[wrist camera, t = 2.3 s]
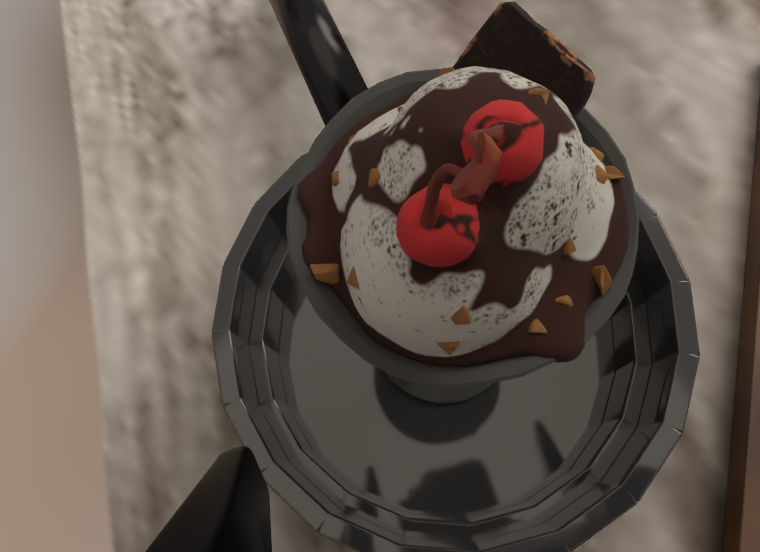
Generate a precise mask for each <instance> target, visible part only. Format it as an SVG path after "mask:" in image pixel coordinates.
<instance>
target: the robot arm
mask: <svg viewBox="0 0 760 552" xmlns="http://www.w3.org/2000/svg"><path fill="white" fill-rule="evenodd" d="M146 552H272V542H271V522H270V502H269V492H268V487H267V484H266V481H265V479H264V477H263V474H262V472H261V470H260V468H259V465H258V463H257V461H256V458H255V456H254V454H253V452H252V450H251V449H250V448H249V447H247V446H243V447H239V448H235V449H231V450H228V451H225V452H223V453H222V454H221V455H220V456H219V457H218V458H217V459H216V461H215V462H214V463H213V465H212V466H211V467H210V469H209V470H208V471H207V472H206V474H205V475H204V476H203V478H202V479H201V480H200V481H199V483H198V484H197V485H196V487H195V488H194V489H193V491H192V492H191V493H190V494H189V496H188V497H187V498H186V500H185V501H184V502H183V504H182V505H181V506H180V507H179V509H178V510H177V511H176V513H175V514H174V515H173V517H172V518H171V519H170V520H169V522H168V523H167V524H166V526H165V527H164V528H163V530H162V531H161V532H160V533H159V535H158V536H157V537H156V539H155V540H154V541H153V543H152V544H151V545H150V546H149V548H148V549H147V550H146Z"/></svg>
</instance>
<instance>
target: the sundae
mask: <svg viewBox="0 0 760 552" xmlns="http://www.w3.org/2000/svg"><path fill="white" fill-rule="evenodd" d="M594 81H595V76H594V74H593V72H592V70H591V69H590V68H588V67H587V66H586V65H585V64H584V63H583V62H582V61H581V60H580V59H579V58H578V57H577V56H576V55H575V54H574V53H573V52H572V51H571V50H570V49H569V48H568V47H567V46H566V45H565V44H564V43H563V42H562V41H560V40H559V39H558V38H557V37H556V36H554V35H553V34H552V33H551V32H550V31H548V30H547V29H545V28H544V27H542V26H541V25H540V24H538V23H537V22H535V21H534V20H533V19H532V18H531V17H530V15H529V14H528V13H527V12H526V11H525V10H523V9H522V8H521V7H520V6H519V5H518V4H517V3H516V2H504V3H500V4H499V5H498V6H497V8H496V9H495V10H494V12H493V13H492V14H491V16H490V17H489V18H488V20H487V21H486V22H485V24H484V25H483V26H482V27H481V29H480V30H479V31H478V33H477V34H476V35H475V36H474V38H473V39H472V40H471V42H470V43H469V45H468V46H467V48H466V49H465V50H464V52H463V53H462V55H461V56H460V58H459V59H458V61H457V62H456V64H455V65H454V66H453V67H450V68H442V69H434V70H424V71H413V72H406V73H403V74H401V75H398V76H395V77H393V78H390V79H387V80H385V81H382V82H379V83H378V84H376V85H374V86H372V87H371V88H369V89H367V90H365V91H364V92H362V93H360V94H358V95H357V96H355V97H353V98H352V99H351V100H350V101H349V102H348V103H347V104H346V105H345V106H344V107H343V108H342V109H341V110H340V111H339V112H338V113H337V114H336V115H335V116H334V117H333V118H332V119H331V120H330V121H329V123H328V124H327V125H326V126H325V128H324V129H323V130H322V132H321V133H320V134H319V135H318V137H317V138H316V139H315V140H314V142H313V144H312V146H311V148H310V150H309V152H308V154H307V156H306V157H305V159H304V161H303V163H302V165H301V168H300V170H299V173H298V175H297V178H296V180H295V182H294V185H293V188H292V192H291V195H290V199H289V202H288V205H287V222H286V232H287V242H288V252H289V258H290V261H291V263H292V266H293V268H294V271H295V273H296V276H297V278H298V281H299V283H300V286H301V287H302V289H303V291H304V293H305V294H306V296H307V298H308V300H309V301H310V303H311V305H312V307H313V308H314V310H315V312H316V314H317V315H318V316H319V317H320V319H321V320H322V321H323V322H324V323H325V324H326V325H327V326H328V327H329V328H330V329H331V330H332V331H333V332H334V333H335V334H336V335H337V336H338V337H339V339H340V340H341V341H342V342H344V343H345V344H346V345H347V346H348V347H349V348H351V349H352V350H353V351H354V352H355V353H356V354H358V355H359V356H360V357H361V358H362V359H364V360H365V361H366V362H368V363H370V364H372V365H373V366H375V367H377V368H379V369H381V370H383V371H385V373H386V375H387V376H388V378H389V379H390V380H391V381H392V382H393V383H394V384H395V385H396V386H398V387H399V388H400V389H401V390H403V391H404V392H405V393H407V394H408V395H410V396H412V397H415V398H417V399H420V400H422V401H426V402H430V403H435V404H451V403H457V402H464V401H466V400H468V399H471V398H473V397H475V396H477V395H479V394H480V393H482V392H484V391H485V390H487V389H488V388H489V387H490V386H491V385H492V384H493V383H495V382H500V381H505V380H509V379H514V378H519V377H523V376H525V375H527V374H529V373H532V372H534V371H536V370H538V369H540V368H542V367H544V366H547V365H549V364H551V363H553V362H556V363H558V362H569V361H572V360H574V359H576V358H577V357H578V356H579V355H580V354H581V352H582V351H583V349H584V346H585V343H586V342H588V341H589V340H590V338H591V337H592V336H593V335H594V334H595V333H596V332H597V331H598V330H599V329H600V328H601V327H602V325H603V324H604V323H605V322H606V321H607V320H608V319H609V318H610V317H611V315H612V314H613V312H614V311H615V309H616V308H617V306H618V305H619V304H620V302H621V301H622V299H623V298H624V296H625V294H626V291H627V288H628V285H629V283H630V280H631V277H632V274H633V271H634V265H635V260H636V255H637V249H638V235H639V213H638V207H637V200H636V194H635V189H634V185H633V182H632V179H631V176H630V172H629V169H628V166H627V162H626V159H625V157H624V156H623V154H622V153H621V151H620V150H619V148H618V147H617V145H616V144H615V142H614V141H613V139H612V138H611V136H610V135H609V133H608V132H607V131H606V130H605V129H604V128H603V127H602V126H601V125H600V123H599V122H598V121H597V120H596V119H595V118H594V117H593V116H592V115H591V114H590V113H589V112H588V111H587V110H586V109H584V108H583V107H584V106H585V105H586V103H587V101H588V99H589V97H590V95H591V92H592V89H593V85H594Z"/></svg>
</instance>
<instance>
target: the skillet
mask: <svg viewBox="0 0 760 552" xmlns="http://www.w3.org/2000/svg"><path fill="white" fill-rule="evenodd" d="M307 154H308V153H306V154H304V155H303V156H301V157H300V158H299V159H298V160H297V161H296V162H295V163H294V164H293V165H292V166H291V167H290V168H289V169H288V170H287V171H286V172H285V173H284V174H283V175H282V176H281V177H280V178H279V179H278V180H277V181H276V182H275V183H274V184H273V185H272V186H271V188H270V189H269V190H268V191H267V192H266V193H265V194H264V195H263V196H262V197H261V198H260V199H259V200H258V201H257V202H256V203H255V206H253V208H252V210H251V212H250V214H249V216H248V217H247V219H246V221H245V223H244V225H243V227H242V229H241V231H240V233H239V235H238V237H237V239H236V241H235V243H234V245H233V247H232V249H231V251H230V252H229V254H228V256H227V258H226V260H225V262H224V266H223V269H222V275H221V281H220V287H219V293H218V299H217V305H216V310H215V316H214V322H213V328H212V333H213V334H212V340H213V347H214V354H215V361H216V367H217V374H218V381H219V387H220V394H221V401H222V405H223V409H224V411H225V413H226V415H227V417H228V419H229V421H230V422H231V424H232V426H233V428H234V430H235V432H236V434H237V436H238V438H239V440H240V442H241V444H242V446H247V447H249V448H250V449H251V450H252V452H253V454H254V456H255V458H256V461H257V463H258V465H259V468H260V470H261V472H262V474H263V477H264V479H265V481H266V484H267V485H268V486H269V487H270V488H271V489H272V490H273V491H274V492H275V493H276V494H277V495H278V496H279V497H280V498H281V499H282V500H283V501H284V502H285V503H286V504H287V505H289V506H290V507H291V508H292V509H293V510H294V511H295V512H296V513H297V514H298V515H299V516H300V517H301V518H302V519H303V520H304V521H305V522H306V523H307V524H308V525H309V526H310V527H311V528H312V529H313V530H315V531H316V532H319V534H320V535H322V536H324V537H326V538H328V539H331V540H333V541H335V542H337V543H339V544H342V545H344V546H346V547H348V548H350V549H353V550H355V551H357V552H572V551H573V550H575V549H576V548H577V547H579V546H580V545H581V544H583V543H584V542H586V541H587V540H588V539H590V538H591V537H592V536H594V535H595V534H597V533H598V532H599V531H601V530H602V529H603V528H605V527H606V526H607V525H609V524H610V523H612V522H613V521H614V520H616V519H617V518H618V517H620V516H621V515H622V514H624V513H625V512H627V511H628V510H629V509H631V508H632V507H633V506H635V505H636V504H637V502H638V501H640V499H641V498H642V496H643V495H644V493H645V492H646V490H647V489H648V487H649V485H650V484H651V482H652V481H653V479H654V478H655V476H656V475H657V473H658V472H659V470H660V468H661V467H662V465H663V464H664V462H665V461H666V459H667V458H668V456H669V455H670V453H671V451H672V450H673V448H674V447H675V445H676V444H677V442H678V441H679V439H680V437H681V436H682V433H683V431H684V427H685V422H686V418H687V413H688V408H689V404H690V399H691V394H692V390H693V385H694V381H695V376H696V371H697V367H698V362H699V355H700V352H699V345H698V337H697V330H696V322H695V314H694V307H693V299H692V292H691V284H690V281H689V278H688V276H687V274H686V272H685V270H684V268H683V266H682V264H681V262H680V259H679V257H678V255H677V253H676V251H675V249H674V247H673V245H672V243H671V241H670V239H669V237H668V235H667V233H666V231H665V229H664V227H663V224H662V222H661V220H660V218H659V216H658V215H657V213H656V212H655V211H654V210H653V209H652V208H651V207H650V205H649V204H648V203H647V202H646V201H645V200H644V199H643V198H642V197H641V196H640V195H639V194H638V193H637V192H636V190H635V194H636V200H637V207H638V213H639V235H638V249H637V255H636V260H635V265H634V271H633V274H632V277H631V280H630V283H629V285H628V288H627V291H626V294H625V296H624V298H623V299H622V301H621V302H620V304H619V305H618V306H617V308H616V309H615V311H614V312H613V314H612V315H611V317H610V318H609V319H608V320H607V321H606V322H605V323H604V324H603V325H602V327H601V328H600V329H599V330H598V331H597V332H596V333H595V334H594V335H593V336H592V337H591V338H590V340H589V341H588V342H586V343H585V346H584V349H583V351H582V352H581V354H580V355H579V356H578V357H577V358H576V359H574V360H572V361H569V362H558V363H556V362H553V363H551V364H549V365H547V366H544V367H542V368H540V369H538V370H536V371H534V372H532V373H529V374H527V375H525V376H523V377H519V378H514V379H509V380H505V381H500V382H495V383H493V384H492V385H491V386H490V387H489V388H488V389H487V390H485V391H484V392H482V393H480V394H479V395H477V396H475V397H473V398H471V399H468V400H466V401H464V402H457V403H451V404H435V403H430V402H426V401H422V400H420V399H417V398H415V397H412V396H410V395H408V394H407V393H405V392H404V391H403V390H401V389H400V388H399V387H398V386H396V385H395V384H394V383H393V382H392V381H391V380H390V379H389V378H388V376H387V375H386V373H385V371H383V370H381V369H379V368H377V367H375V366H373V365H372V364H370V363H368V362H366V361H365V360H364V359H362V358H361V357H360V356H359V355H358V354H356V353H355V352H354V351H353V350H352V349H351V348H349V347H348V346H347V345H346V344H345V343H344V342H342V341H341V340H340V339H339V337H338V336H337V335H336V334H335V333H334V332H333V331H332V330H331V329H330V328H329V327H328V326H327V325H326V324H325V323H324V322H323V321H322V320H321V319H320V317H319V316H318V315H317V314H316V312H315V310H314V308H313V307H312V305H311V303H310V301H309V300H308V298H307V296H306V294H305V293H304V291H303V289H302V287H301V286H300V283H299V281H298V278H297V276H296V273H295V271H294V268H293V266H292V263H291V261H290V258H289V252H288V242H287V232H286V222H287V205H288V202H289V199H290V195H291V192H292V188H293V185H294V182H295V180H296V178H297V175H298V173H299V170H300V168H301V165H302V163H303V161H304V159H305V157H306V156H307Z"/></svg>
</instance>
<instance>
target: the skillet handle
mask: <svg viewBox="0 0 760 552" xmlns="http://www.w3.org/2000/svg"><path fill="white" fill-rule="evenodd" d="M269 1H270V4H271V6H272V8H273V10H274V12H275V15H276V17H277V19H278V21H279V24H280V26H281V28H282V30H283V33H284V35H285V37H286V39H287V41H288V44H289V46H290V48H291V50H292V53H293V55H294V57H295V59H296V62H297V64H298V66H299V68H300V70H301V73H302V75H303V77H304V79H305V82H306V84H307V86H308V88H309V90H310V93H311V95H312V97H313V99H314V102H315V104H316V106H317V108H318V111H319V113H320V115H321V117H322V119H323V122H324V124H325V126H326V125H327V124H328V123H329V121H330V120H331V119H332V118H333V117H334V116H335V115H336V114H337V113H338V112H339V111H340V110H341V109H342V108H343V107H344V106H345V105H346V104H347V103H348V102H349V101H350V100H351V99H352V98H353V97H355V96H357V95H358V94H360V93H362V92H364V91H365V90H367V89H368V88H367V86H366V84H365V82H364V80H363V78H362V76H361V74H360V72H359V70H358V68H357V66H356V64H355V62H354V60H353V58H352V56H351V54H350V52H349V50H348V48H347V46H346V44H345V42H344V40H343V38H342V36H341V34H340V32H339V30H338V28H337V26H336V24H335V22H334V20H333V18H332V16H331V14H330V12H329V10H328V8H327V6H326V4H325V2H324V0H269Z"/></svg>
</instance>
